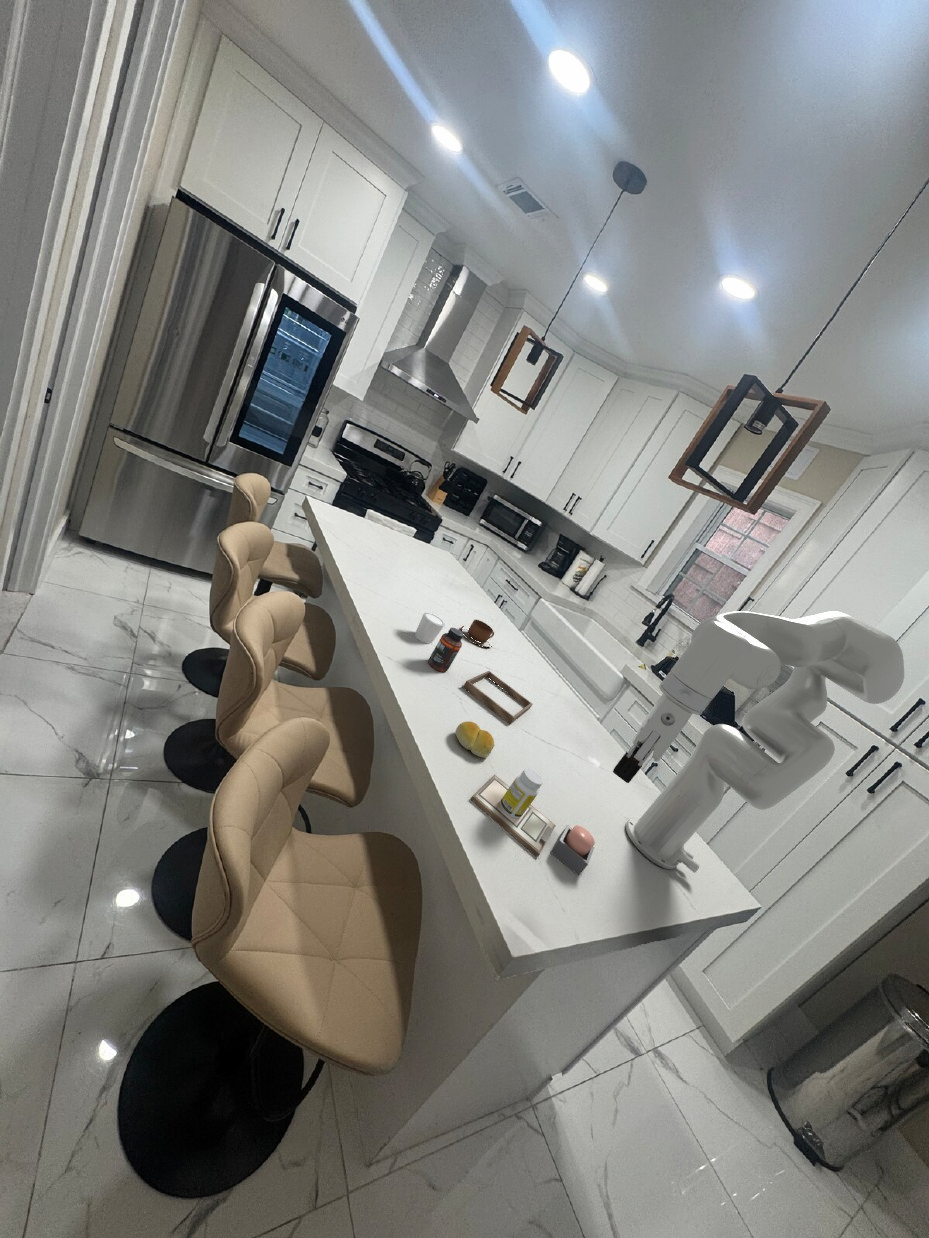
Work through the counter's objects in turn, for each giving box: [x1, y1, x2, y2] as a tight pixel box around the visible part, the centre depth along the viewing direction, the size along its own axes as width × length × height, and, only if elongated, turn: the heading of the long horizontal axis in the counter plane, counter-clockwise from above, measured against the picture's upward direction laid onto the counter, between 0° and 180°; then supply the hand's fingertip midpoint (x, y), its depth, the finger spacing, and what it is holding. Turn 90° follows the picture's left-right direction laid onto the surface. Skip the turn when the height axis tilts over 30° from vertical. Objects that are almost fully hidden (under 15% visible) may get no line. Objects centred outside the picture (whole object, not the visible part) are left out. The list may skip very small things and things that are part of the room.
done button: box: [565, 825, 596, 858], centre depth 91 cm, size 4×4×3 cm
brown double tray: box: [470, 773, 557, 858], centre depth 94 cm, size 15×11×2 cm
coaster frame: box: [462, 670, 534, 725], centre depth 136 cm, size 16×16×2 cm
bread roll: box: [455, 720, 496, 759], centre depth 107 cm, size 8×9×4 cm
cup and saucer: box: [460, 619, 495, 648], centre depth 167 cm, size 12×12×6 cm
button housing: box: [550, 825, 595, 877], centre depth 92 cm, size 6×6×3 cm
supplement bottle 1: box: [428, 627, 464, 673], centre depth 133 cm, size 6×6×11 cm
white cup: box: [414, 612, 445, 645], centre depth 145 cm, size 7×7×7 cm
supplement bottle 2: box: [500, 767, 544, 819], centre depth 92 cm, size 5×5×8 cm
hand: (621, 775), depth 87 cm, fingers closed
